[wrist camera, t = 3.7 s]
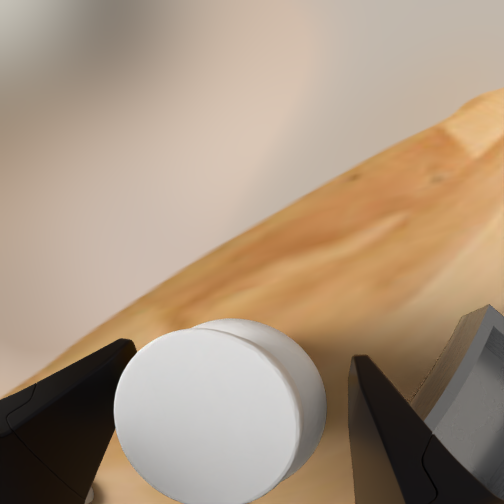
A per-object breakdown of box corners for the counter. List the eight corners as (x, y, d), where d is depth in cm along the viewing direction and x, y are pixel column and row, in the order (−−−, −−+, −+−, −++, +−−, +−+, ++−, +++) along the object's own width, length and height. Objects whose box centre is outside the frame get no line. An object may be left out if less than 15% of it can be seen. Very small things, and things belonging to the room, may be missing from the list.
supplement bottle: (192, 368, 15) (60, 352, 6) (283, 321, 15) (253, 245, 6) (239, 457, 13) (154, 551, 4) (335, 411, 13) (387, 473, 4)
